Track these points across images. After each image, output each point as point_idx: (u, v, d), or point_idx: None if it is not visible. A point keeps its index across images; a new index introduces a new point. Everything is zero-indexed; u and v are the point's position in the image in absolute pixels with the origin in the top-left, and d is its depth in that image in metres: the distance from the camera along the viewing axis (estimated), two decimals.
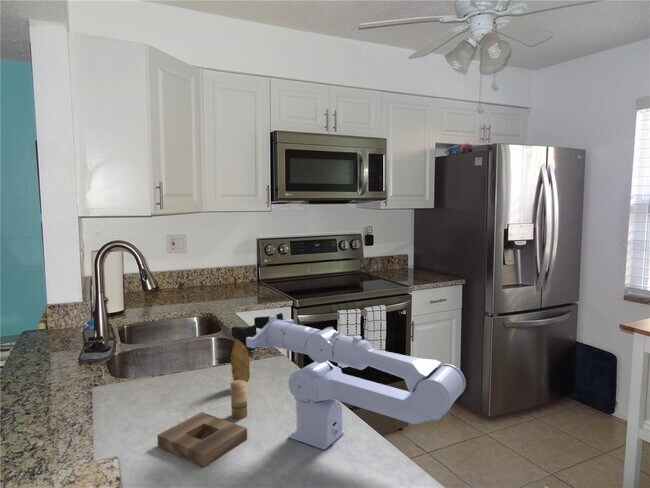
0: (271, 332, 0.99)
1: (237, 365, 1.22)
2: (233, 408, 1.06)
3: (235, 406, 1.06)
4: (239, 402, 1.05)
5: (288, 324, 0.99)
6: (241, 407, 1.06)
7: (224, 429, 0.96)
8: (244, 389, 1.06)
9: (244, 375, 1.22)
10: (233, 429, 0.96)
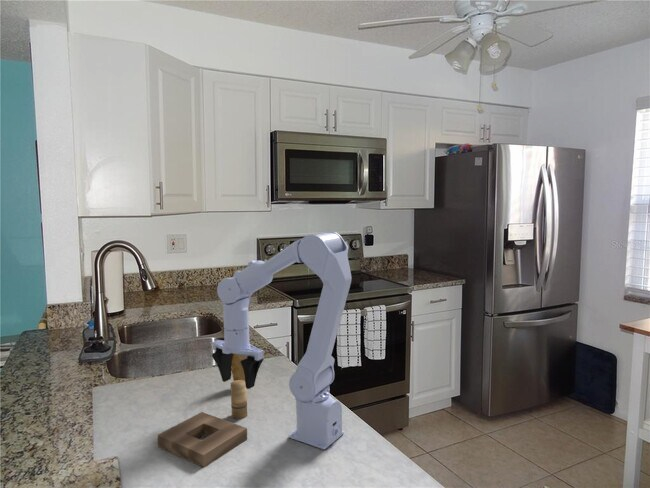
0: (241, 343, 1.03)
1: (237, 365, 1.22)
2: (233, 408, 1.06)
3: (235, 406, 1.06)
4: (239, 402, 1.05)
5: (228, 331, 1.03)
6: (241, 407, 1.06)
7: (224, 429, 0.96)
8: (244, 389, 1.06)
9: (244, 375, 1.22)
10: (233, 429, 0.96)
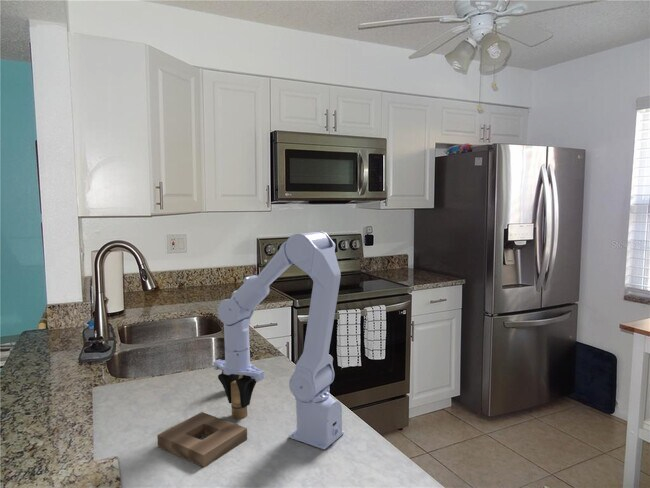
0: (241, 364, 1.04)
1: None
2: (233, 408, 1.06)
3: (235, 406, 1.06)
4: (239, 402, 1.05)
5: (228, 352, 1.03)
6: (241, 407, 1.06)
7: (224, 429, 0.96)
8: None
9: None
10: (233, 429, 0.96)
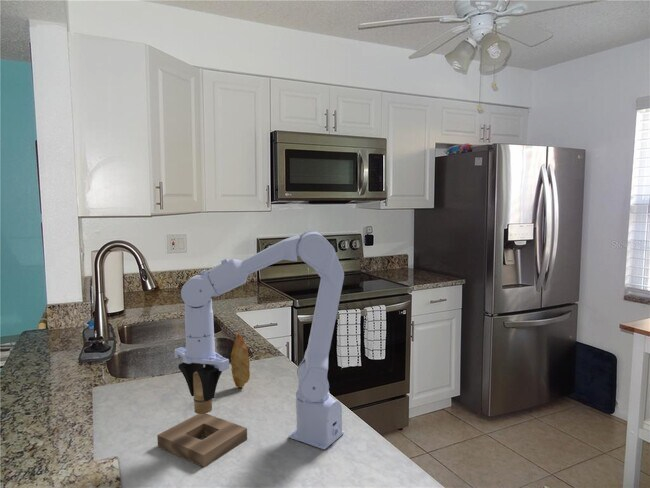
0: (204, 351, 0.92)
1: (237, 365, 1.22)
2: (195, 401, 0.94)
3: (198, 399, 0.93)
4: (202, 394, 0.93)
5: (189, 338, 0.91)
6: None
7: (224, 429, 0.96)
8: None
9: (244, 375, 1.22)
10: (233, 429, 0.96)
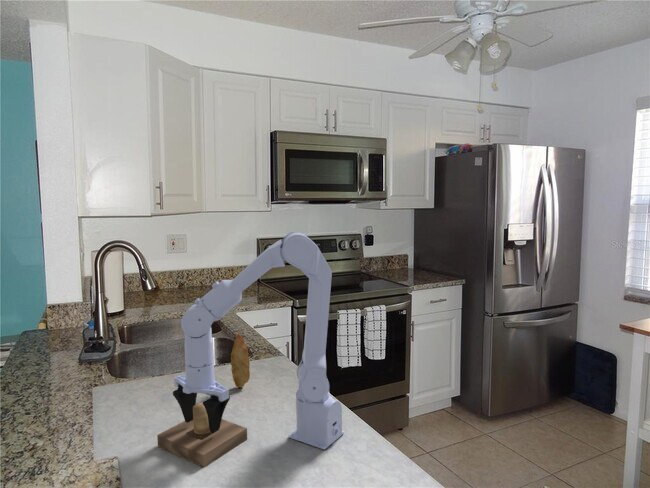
0: (204, 381, 0.92)
1: (237, 365, 1.22)
2: (195, 435, 0.94)
3: (198, 433, 0.94)
4: (202, 428, 0.94)
5: (189, 368, 0.92)
6: (205, 433, 0.94)
7: (224, 429, 0.96)
8: None
9: (244, 375, 1.22)
10: (233, 429, 0.96)
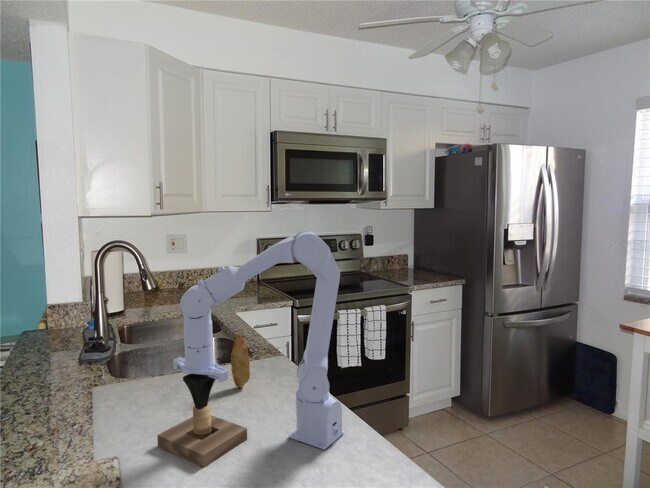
0: (203, 362, 0.91)
1: (237, 365, 1.22)
2: (195, 435, 0.94)
3: (197, 433, 0.94)
4: (202, 428, 0.94)
5: (188, 349, 0.91)
6: (205, 433, 0.94)
7: (224, 429, 0.96)
8: (208, 413, 0.94)
9: (244, 375, 1.22)
10: (233, 429, 0.96)
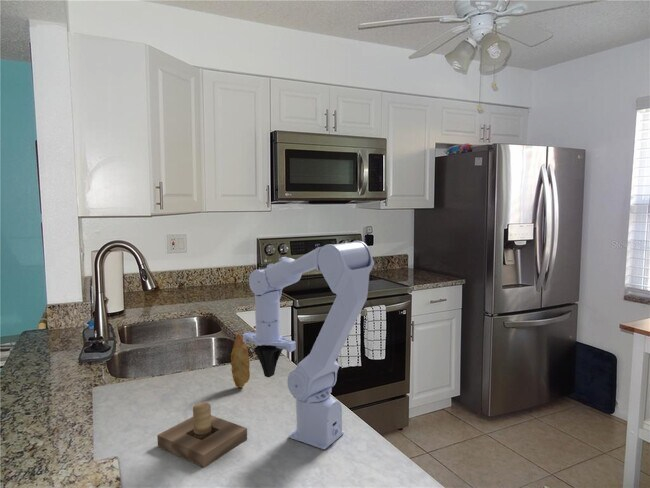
0: (273, 335, 1.04)
1: (237, 365, 1.22)
2: (195, 435, 0.94)
3: (198, 433, 0.94)
4: (202, 428, 0.94)
5: (260, 323, 1.03)
6: (205, 433, 0.94)
7: (224, 429, 0.96)
8: (208, 413, 0.94)
9: (244, 375, 1.22)
10: (233, 429, 0.96)
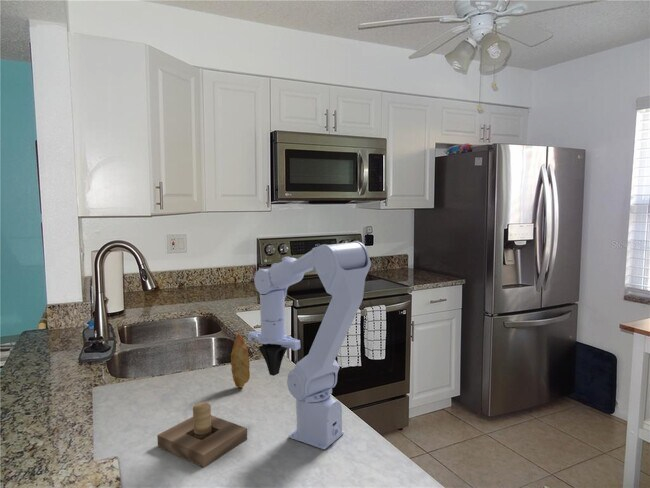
0: (278, 334, 1.05)
1: (237, 365, 1.22)
2: (195, 435, 0.94)
3: (198, 433, 0.94)
4: (202, 428, 0.94)
5: (265, 322, 1.05)
6: (205, 433, 0.94)
7: (224, 429, 0.96)
8: (208, 413, 0.94)
9: (244, 375, 1.22)
10: (233, 429, 0.96)
